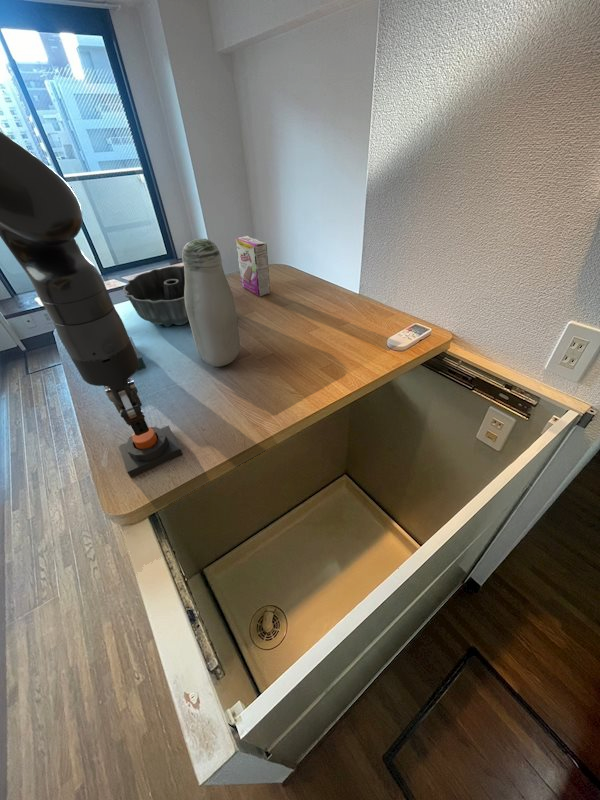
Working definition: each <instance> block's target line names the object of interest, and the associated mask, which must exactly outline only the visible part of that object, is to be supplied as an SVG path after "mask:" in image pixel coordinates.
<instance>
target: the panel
mask: <svg viewBox="0 0 600 800" xmlns="http://www.w3.org/2000/svg"><path fill="white" fill-rule="evenodd" d="M129 338H130V341H131V343H132V346H133V348H134V351H135V353H136V355H137V358H138V360H139V367H138V369H137V371H141V370H143V369H146V368H147V366H146V364H145V361H144V359H143V356H142V355H141V353H140V351H139V349H138V348H137V345H136V344H135V342H134V341H133V338H132V337H131V336H129Z"/></svg>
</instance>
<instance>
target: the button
mask: <svg viewBox="0 0 600 800" xmlns="http://www.w3.org/2000/svg"><path fill="white" fill-rule="evenodd" d="M132 435H133V437H132V439H133V442H134V443H135V445H136V447H137V448H138V449H148V448H150V447H152V446H153V445H155V443H156V442H157V436H156V434H155V432H154V430H153V429H151V428H149V431H148V432H146V433H144V434H141V435H139V436H137V435H135V433H134V432H133V433H132Z"/></svg>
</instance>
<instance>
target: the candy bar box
mask: <svg viewBox="0 0 600 800" xmlns="http://www.w3.org/2000/svg"><path fill="white" fill-rule="evenodd" d="M235 247H236V252H237V259H238V266H239V275H240V282H241V288H243V289H245V291H246V290H247V291H248V292H250V293H252V294H254V295H255V296H257V297H259V298H262V297H264V296H266V295H270V294H271V285H270V283H271V282H270V271H269V270H270V269H269V258H268V245H267V243H266V242H264V241H262V240H259V239H257V238H254V237H252V236H250V235H244V236H240V237H236V238H235Z"/></svg>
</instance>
